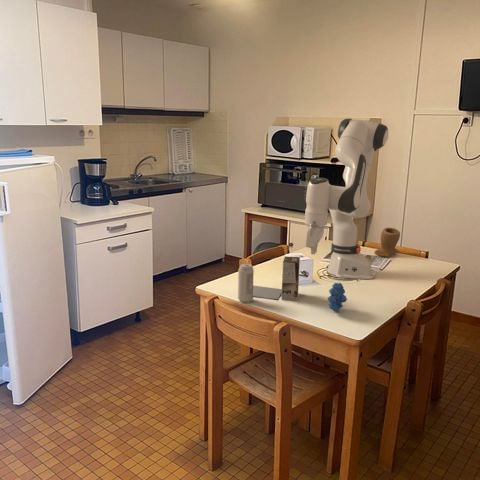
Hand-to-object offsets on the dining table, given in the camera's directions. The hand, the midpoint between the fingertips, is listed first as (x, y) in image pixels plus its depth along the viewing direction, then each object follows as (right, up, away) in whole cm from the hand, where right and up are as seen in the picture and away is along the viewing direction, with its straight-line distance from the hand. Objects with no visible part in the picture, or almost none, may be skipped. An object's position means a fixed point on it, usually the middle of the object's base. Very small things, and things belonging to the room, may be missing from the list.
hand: (313, 253), depth 193 cm
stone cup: (+51, -3, +70) cm, 86 cm away
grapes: (+8, -23, -8) cm, 25 cm away
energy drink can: (-27, -19, +3) cm, 34 cm away
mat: (-20, -17, +11) cm, 29 cm away
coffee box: (-9, -18, +8) cm, 22 cm away
